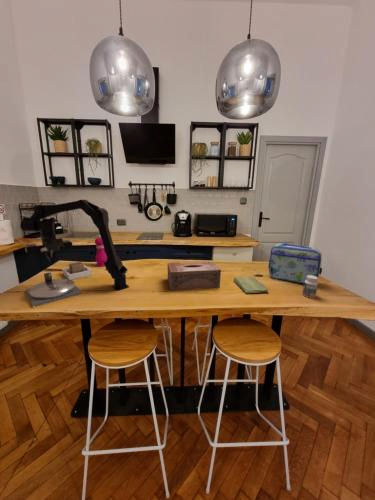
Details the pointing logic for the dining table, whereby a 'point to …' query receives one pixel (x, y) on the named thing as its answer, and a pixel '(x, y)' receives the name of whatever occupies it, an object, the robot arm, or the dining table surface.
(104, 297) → the dining table surface
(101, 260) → the pepper mill
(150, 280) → the dining table surface
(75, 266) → the block
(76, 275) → the tray
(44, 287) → the crank
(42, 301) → the crank board
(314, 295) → the pill bottle
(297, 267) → the lunch box
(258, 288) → the washcloth
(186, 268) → the tissue box cover
